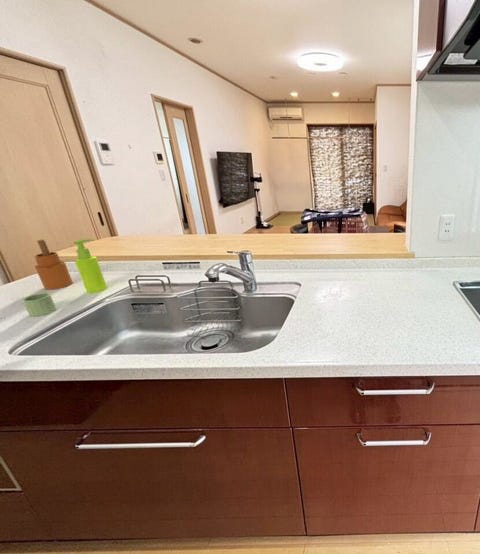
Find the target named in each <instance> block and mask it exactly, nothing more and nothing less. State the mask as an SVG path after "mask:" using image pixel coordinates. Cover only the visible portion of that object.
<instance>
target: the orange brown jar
mask: <svg viewBox="0 0 480 554" xmlns="http://www.w3.org/2000/svg"><path fill="white" fill-rule="evenodd" d="M49 252H50V254H51V255H49V256H43V254H42V252H41V253H38V254H35V255H34V259H35V262H36V263H37V264H36V265H35V266H34V268H35V270H36V272H37V275H38V277H39V279H40V282H41V284H42V286H43V288H44V289H45V290H49V291H51V290H57V289H58V290H59V289H62V288H63V289H64V288H66V287H69V286H71V285H72V284H73V283H74V282H73V279H72V277H71V274H70V272H69V269H68V267H67V264H66V261H64V260H61V259H60V257H59V254H58V252H57V251H49Z"/></svg>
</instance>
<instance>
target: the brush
mask: <svg viewBox="0 0 480 554" xmlns="http://www.w3.org/2000/svg"><path fill="white" fill-rule="evenodd" d="M36 242H37V244H38V245H37V246H38V247H39V250H40V251H41V253H42V254H43V256H49V255H51V254H50V252H51V251H50V249H49V247H48V245H47V242H46V239H38V240H36Z"/></svg>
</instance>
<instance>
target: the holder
mask: <svg viewBox="0 0 480 554" xmlns="http://www.w3.org/2000/svg"><path fill="white" fill-rule="evenodd" d="M21 301H22V303H23V306H24V308H25V310H26V312H27V314H28V316H29V317H31V318H38V317H43V316H47V315H50V314H52V313H55V312H56V311H57V310H58V309H57V306H56V304H55V301H54V299H53V297H52V295H51V293H50V292H42V293H41V292H40V293H35V294H31V295H28V296H26V297H24V298H22V300H21Z"/></svg>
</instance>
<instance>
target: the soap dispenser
mask: <svg viewBox="0 0 480 554" xmlns="http://www.w3.org/2000/svg"><path fill="white" fill-rule="evenodd" d="M94 241H95V239H94V238H82V239H77V240H73V244H76V246H77V249H75V253H76V254H77V258H75V259H74V262H75V265H76V268H77V270H78V272H79V275H80V278H81V281H82V284H83V286H84V288H85V290H86V291H85V292H86V293H88V294H96V293H100V292H103V291H106V290H107V289H108V286H107V284H106V281H105V278H104V275H103V273H102V270H101V267H100V264H99V261H98V258H97V256H95V255H91V252H90V249H89V248H88V247H85V244H84V243H85V242H94Z"/></svg>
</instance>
